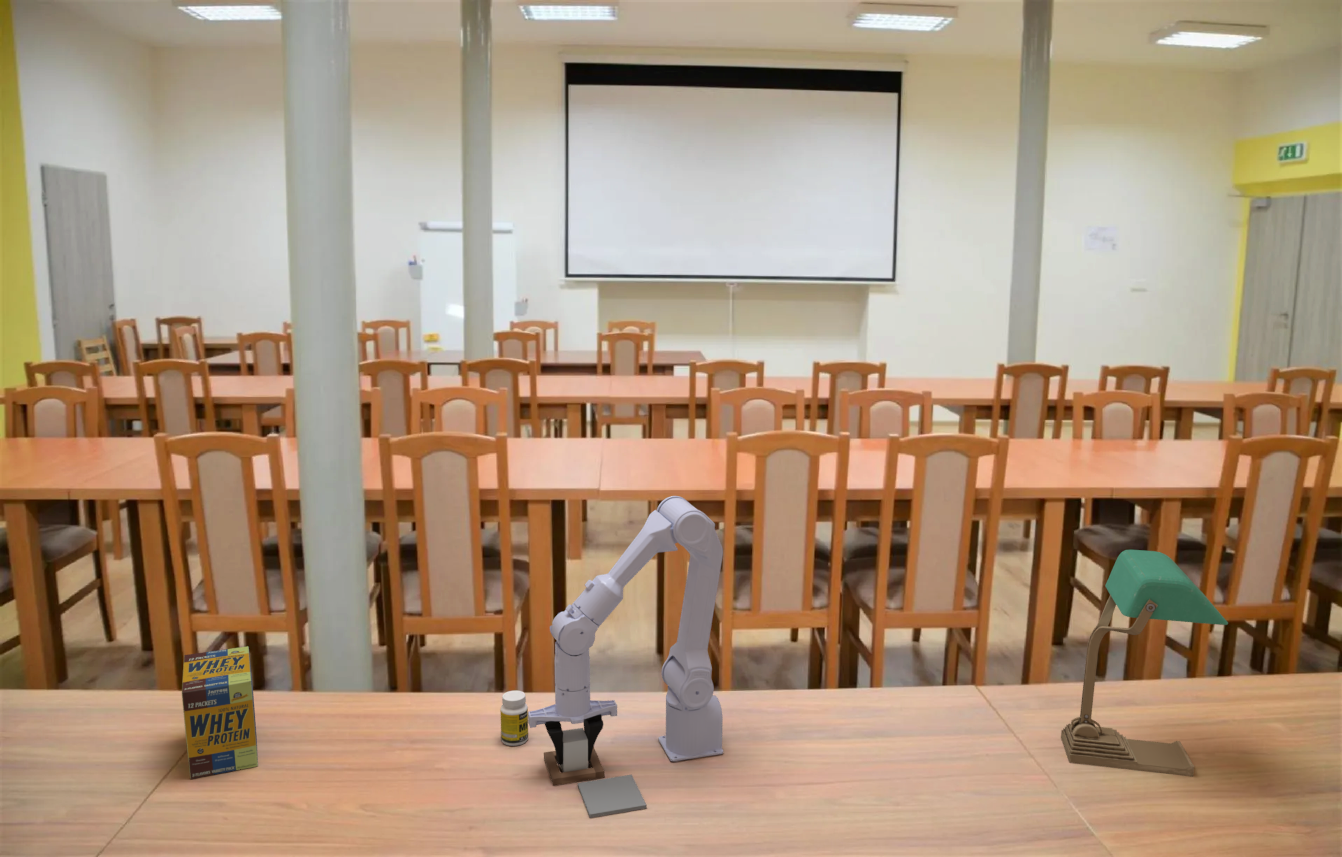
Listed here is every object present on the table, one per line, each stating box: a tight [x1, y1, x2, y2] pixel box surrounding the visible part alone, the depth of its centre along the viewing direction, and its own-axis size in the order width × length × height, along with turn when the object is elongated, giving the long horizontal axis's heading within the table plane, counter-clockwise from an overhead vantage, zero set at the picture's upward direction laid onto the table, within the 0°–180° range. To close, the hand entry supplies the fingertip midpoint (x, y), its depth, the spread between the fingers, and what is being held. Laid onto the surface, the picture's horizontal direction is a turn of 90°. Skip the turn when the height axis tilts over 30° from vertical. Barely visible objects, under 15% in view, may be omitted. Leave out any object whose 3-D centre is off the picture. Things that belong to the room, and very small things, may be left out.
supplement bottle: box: [499, 690, 529, 747], centre depth 174 cm, size 5×5×8 cm
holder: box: [543, 746, 606, 787], centre depth 166 cm, size 8×8×1 cm
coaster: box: [577, 774, 648, 819], centre depth 158 cm, size 9×9×1 cm
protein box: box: [181, 645, 259, 780], centre depth 169 cm, size 10×15×16 cm
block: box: [559, 727, 589, 773], centre depth 166 cm, size 4×4×6 cm
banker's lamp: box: [1060, 549, 1229, 777], centre depth 168 cm, size 16×21×35 cm
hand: (573, 759), depth 166 cm, fingers closed on block, 4 cm apart
